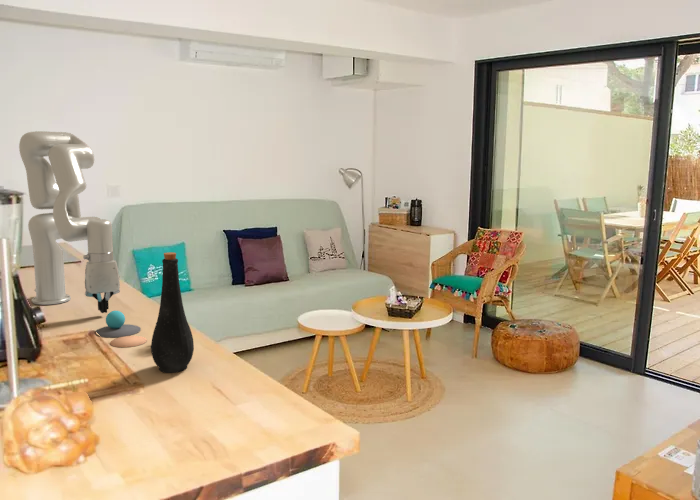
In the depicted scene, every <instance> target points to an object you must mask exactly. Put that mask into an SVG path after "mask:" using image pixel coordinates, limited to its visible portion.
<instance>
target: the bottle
mask: <svg viewBox="0 0 700 500" xmlns="http://www.w3.org/2000/svg"><path fill="white" fill-rule="evenodd" d="M161 263H162V280H161V281H162V283H161V295H160V301H159V302H160V303H159V310H158V314H157V315H158V317H157V320H156V322H155V326H154V330H153V334H152V337H151V344H150V352H151V356H152V360H153V362H154V364H155V365H156V366H157V367H158V371H159V372H162V373H164V374H165V373H166V374H175V373H180V372H184V371H186V370H187V369H188V365H189V364H190V363H191V360H192V358H193V355H194V349H195V345H194V343H195V342H194V336H193V333H192V330H191V327H190V324H189V322H188V319H187V316H186V312H185V309H184V304H183V297H182V293H181V292H182V291H181V285H180V277H179V275H180V274H179V265H178V264H179V259H178V258H177V253H176V252H174V251H173V252H171V251H169V252H163V259H162V260H161Z"/></svg>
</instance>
